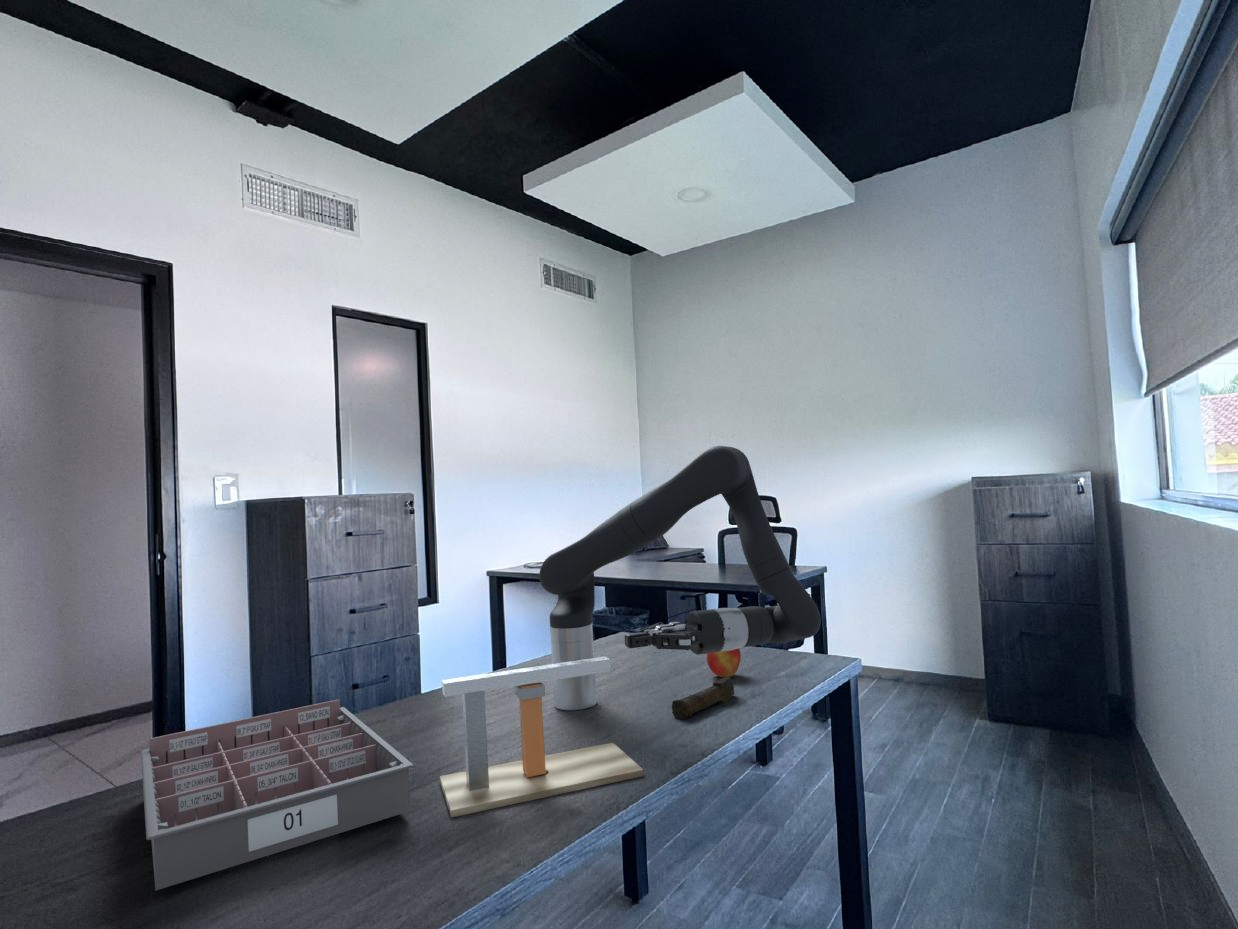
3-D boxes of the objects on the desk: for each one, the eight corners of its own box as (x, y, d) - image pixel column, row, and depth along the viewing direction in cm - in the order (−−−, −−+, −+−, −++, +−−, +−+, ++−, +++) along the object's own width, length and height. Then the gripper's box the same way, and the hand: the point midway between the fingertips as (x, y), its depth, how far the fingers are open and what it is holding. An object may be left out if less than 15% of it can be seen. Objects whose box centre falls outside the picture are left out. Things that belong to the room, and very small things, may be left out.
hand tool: (686, 722, 136) (685, 698, 137) (671, 718, 139) (670, 695, 140) (744, 699, 150) (743, 677, 150) (729, 696, 152) (728, 674, 153)
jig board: (440, 782, 113) (439, 775, 113) (613, 748, 124) (612, 742, 124) (451, 817, 100) (450, 810, 100) (643, 776, 111) (643, 769, 111)
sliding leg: (519, 770, 113) (514, 682, 114) (543, 765, 115) (538, 679, 115) (524, 779, 109) (520, 688, 110) (549, 774, 111) (544, 684, 111)
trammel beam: (447, 788, 109) (441, 679, 109) (610, 755, 118) (604, 656, 119) (449, 795, 106) (444, 684, 106) (616, 761, 115) (610, 659, 116)
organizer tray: (148, 908, 82) (145, 821, 82) (142, 799, 114) (140, 738, 115) (417, 821, 100) (414, 750, 101) (346, 749, 133) (344, 696, 133)
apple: (744, 680, 163) (741, 637, 164) (710, 682, 163) (707, 639, 164) (739, 671, 171) (736, 630, 172) (706, 673, 171) (703, 632, 172)
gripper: (698, 604, 131) (612, 613, 125) (734, 615, 119) (640, 625, 113) (700, 644, 131) (613, 655, 125) (736, 659, 119) (642, 672, 113)
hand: (626, 641), depth 119 cm, fingers closed
